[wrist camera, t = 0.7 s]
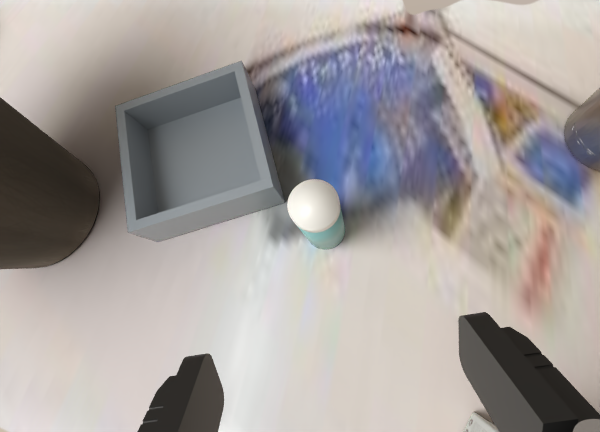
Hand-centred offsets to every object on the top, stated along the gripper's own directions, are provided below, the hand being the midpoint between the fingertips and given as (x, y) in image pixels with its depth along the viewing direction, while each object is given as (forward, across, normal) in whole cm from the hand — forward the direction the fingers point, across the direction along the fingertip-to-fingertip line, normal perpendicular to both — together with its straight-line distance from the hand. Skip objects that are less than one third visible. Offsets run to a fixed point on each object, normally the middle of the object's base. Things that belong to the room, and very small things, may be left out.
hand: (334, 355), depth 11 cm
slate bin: (+38, +14, -1) cm, 40 cm away
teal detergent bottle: (+29, -1, +8) cm, 30 cm away
